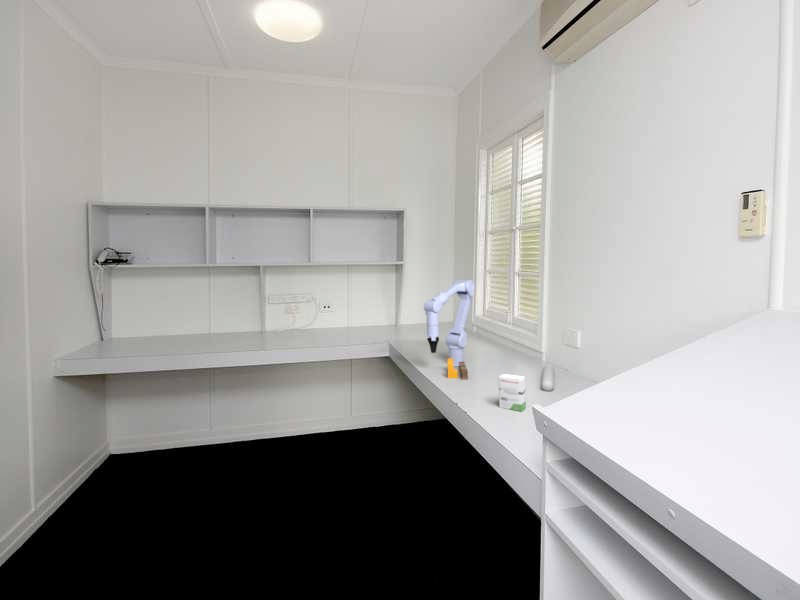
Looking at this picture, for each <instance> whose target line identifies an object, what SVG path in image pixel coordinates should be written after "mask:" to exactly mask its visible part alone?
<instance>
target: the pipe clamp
mask: <svg viewBox="0 0 800 600" xmlns="http://www.w3.org/2000/svg"><path fill="white" fill-rule="evenodd" d="M447 379H458V369H454V366H453V358H449V357H448V358H447Z"/></svg>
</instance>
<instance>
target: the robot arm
mask: <svg viewBox="0 0 800 600" xmlns="http://www.w3.org/2000/svg"><path fill="white" fill-rule="evenodd" d="M475 289H476V286H475V284H474V281H473V280H471V279H469V280H466V279H464V280H463V279H462V280H461V279H456V280H454V281H453V282H452V284H451V286H449V287H448V288H447V289H446V290H445V291H440V292H439V291H438V293H437V294H436V295H435V296H433V297H432V298H431V299H428V300H426V301H425V302H424V304H423V305H424V306H423V310H424V311H425V316H426V333H424V337H427V339H426V340H427V343H428V344H429V347H430V348H429V349H430V353H431V354H436V353H437V346H438V343H439V341H440V337H439V336H440V329H439V328H440V327H439V325H440V323H439V322H440V319H439V313H440V311H441V309H442V308H443V306H444V305H445V304H446V303H448V302H449V300H450V299H449V298H450V297H451V296H454V295H455V294H456V295H457V296H458V297H459V298H460V302H459V306H458V310H457V314H456V318H455V321H454V325H453V328H451V329H449V331H448V332H447V333H448V334H447V335H446V337H445V343H446V345H447V347H448V348H449V349H448V351H449V352H448V353H449V355H448V358H453V367H459V362H464V363H465V361H464V348H465V347H466V345H467V343H468V341H467V340H468V339H467V336H468V334H467V333H466V331H465V327H466V323H467V320H468V317H469V316H468V315H469V311H470V308H471V305H472V300H473V297H474V292H475Z"/></svg>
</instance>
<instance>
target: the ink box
mask: <svg viewBox="0 0 800 600" xmlns="http://www.w3.org/2000/svg"><path fill="white" fill-rule="evenodd" d="M498 398H499V399H498V401H499V405H498V406H499V408H501V409H507V410H512V411H518V412H523V411H524V410H525V409H526V401H527V400H526V399H527V397H526V377H525V376H522V375H521V376H520V375H513V374H507V373H506V374H505V373H503V374H501V375H499V377H498Z"/></svg>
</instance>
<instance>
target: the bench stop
mask: <svg viewBox="0 0 800 600" xmlns="http://www.w3.org/2000/svg"><path fill="white" fill-rule="evenodd" d="M458 370H459V371H458V372H459V373H460V374H459V375H460V376H461V380H465V381H466V380H468V379H469V376H468V375H469V373H468V368H467V366H466V363H465V361H464V362H459V366H458Z"/></svg>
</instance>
